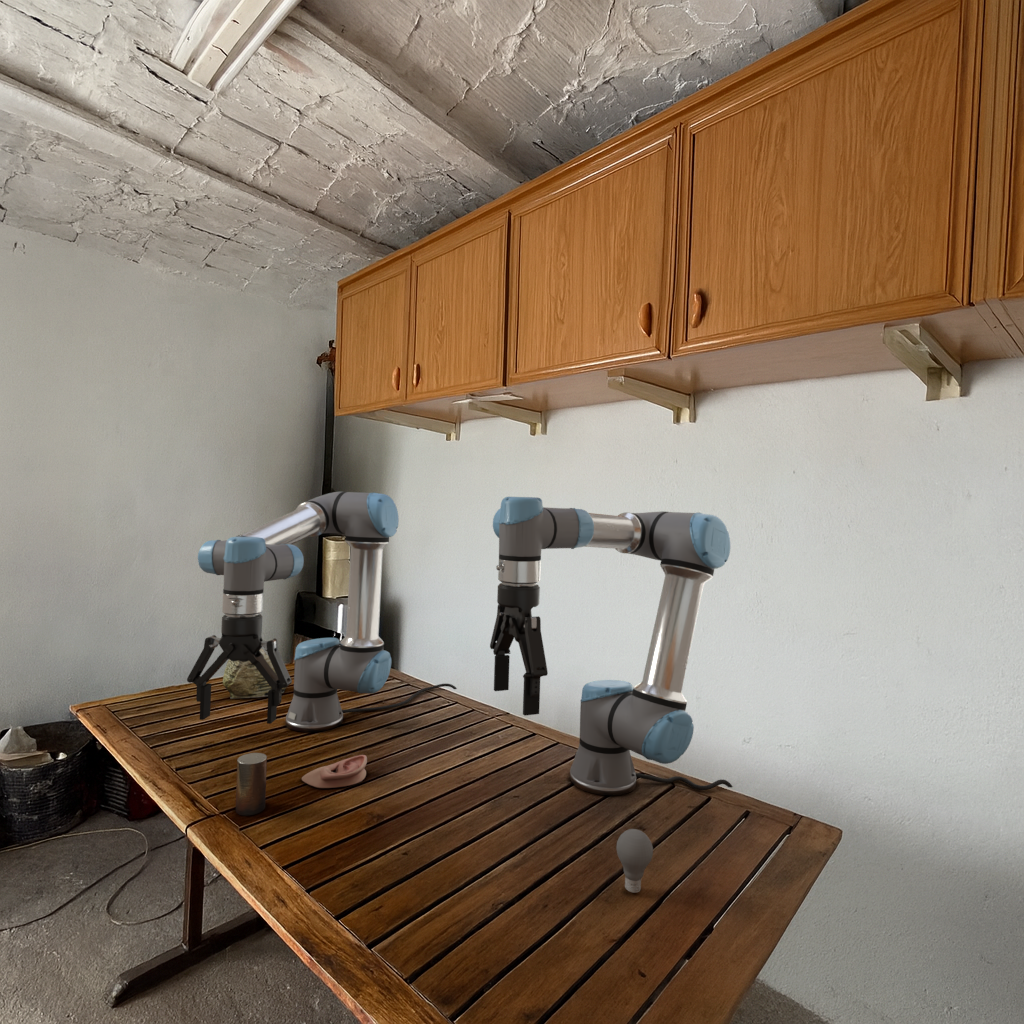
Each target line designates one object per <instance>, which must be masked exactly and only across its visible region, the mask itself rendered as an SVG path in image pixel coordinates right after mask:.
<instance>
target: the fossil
mask: <svg viewBox="0 0 1024 1024" xmlns="http://www.w3.org/2000/svg"><path fill="white" fill-rule="evenodd" d="M259 651H260V652H261V653H262V654H263V656H264V659H265V660H266V662H267V663H268V664H269V666H270V667H271V668H272V670H273V671H274V672H275V670H274V668H273V665H272V663H271V661H270V659H269V656H268V653H267V652H265V649H263V648H261V649H260V650H259ZM226 662H227V663H226V666H225V668H224V671H223V675H222V676H223V677H222V685H223V687H224V688H225V690H226V691H228V693H229V698H230V699H250V698H264V697H268V691H269V690H270V689H272V688H271V686H270V685H269V684H268V682H267V681H266V680H265V678H264V677H263V676H262V675H261V673H260V672H259V671H258V669H257V668H256V667H255V665H253V664H252V663H251V662H250V661H247V662H242V661H239V660H238V661H231V660H230V659H228V660H227V661H226ZM275 673H276V672H275ZM276 675H277V674H276ZM286 689H287V687H286V688H282V694H284V693H285V691H286Z"/></svg>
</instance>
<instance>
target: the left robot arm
mask: <svg viewBox="0 0 1024 1024" xmlns="http://www.w3.org/2000/svg"><path fill="white" fill-rule="evenodd" d="M398 527H399V511H398V508H397V505H396V503H395V501H394V499H393V498H392V497H391V496H390V495H388V494H386V493H380V492H379V493H377V492H375V491H373V492H363V491H362V492H358V491H357V492H356V491H333V492H329V493H325V494H322V495H320V496H319V495H318V496H316V497H313V498H311V499H309V500H306V501H304V502H301V503H300V504H298V505H297V506H296V508H295V510H292V511H290V512H288V513H287V514H284V515H281V516H280V517H277V518H274V519H272V520H270V521H267V522H265V523H263V524H261V525H259V526H256V527H254V528H251V529H250V530H247V531H244V532H242V533H240V534H238V535H236V536H231V537H229V538H227V539H226V540H221V539H215V540H214V539H213V540H212V539H211V540H207V541H205V542H204V543H203V544H202V545H201V546H200V548H199V550H198V553H197V563H198V565H199V568H200V569H201V571H203V572H204V573H206V574H212V575H215V576H223V589H222V608H221V609H222V610H221V612H222V613H223V614H224V615H222V616H221V628H220V629H221V637H217V635H215V634H212V635H210V636H208V637H206V638H205V639H204V644H203V649H202V651H201V653H200V654H199V656H198V658H197V660H196V661H195V663H194V665H193V667H192V669H191V671H190V672H189V674H188V676H187V677H186V681H187V683H189V684H190V683H192V684H194V685H195V686H196V696H195V700H196V702H197V703H199V720H200V721H204V720H206V719H208V717H210V716H211V704H212V683H210V680H211V678H212V677H213V676H214V675H216V673H217V672H218V671H219V670H220V669H221V668H222V667H223V665H224V664H225V663H226V662H228V660H229V659H230V660H231V661H238V660H239V661H242V662H247V661H250V662H251V663H252V664H253V665H255V667H256V668H257V669H258V671H259V672H260V673H261V675H262V676H263V677H264V678H265V680H266V681H267V682H268V684H269V685H270V686H271V688H272V689H270V690H269V691H268V696H267V713H266V724H270V725H271V724H272V723H273V722H275V721H276V720H277V710H278V709H277V708H278V706H279V705H281V703H282V697H283V696H282V695H283V693H282V688H286V689H287V687H289V686H291V684H292V683H293V695H292V696H293V697H292V699H291V702H290V704H289V708H288V711H287V713H286V715H285V726H286V728H287V729H289V730H291V731H294V732H295V731H296V732H301V733H316V732H325V731H329V730H332V729H335V728H337V727H339V726H340V725H342V723H343V722H344V714H346V713H347V714H348V713H361V712H375V711H381V710H382V711H383V710H387V709H393V708H398V707H400V706H401V707H402V706H403V705H406V704H408V703H409V702H410V701H412V700H413V699H414V698H415V697H417V696H419V695H420V694H422V693H424V692H427V691H430V690H435V689H439V688H442V687H448V688H452V689H453V690H457V689H458V688H457V687H456V686H455V685H453V684H451V683H439V684H436V685H432V686H433V687H432V686H428V687H424V688H422V689H421V688H420V689H419V690H418V691H417V692H415V693H413V694H412V695H411V696H410V697H408V698H407V699H405V700H402V701H400V702H397V703H393V704H388V705H383V706H375V707H364V708H362V707H361V708H349V709H346V708H345V709H342V706H341V702H340V699H339V695H338V690H339V691H347V692H354V693H357V694H361V695H362V694H369V695H370V694H371V695H372V694H376V693H378V692H379V691H380V690H381V689H382V688H383V687H384V686H385V684H386V682H387V680H388V678H389V676H390V672H391V668H392V657H391V653H390V652H389V651H387V649H386V650H384V649H385V647H384V645H385V642H384V641H383V639H382V638H381V637H380V636H379V635H380V634H379V633H380V617H381V616H380V614H381V596H382V595H381V594H382V575H383V558H384V557H383V555H384V554H383V553H384V548H386V546H388V545H389V544H390V538H392V537H394V536H395V534H396V533H397V529H398ZM322 534H339V535H340V534H341V535H345V537H344V538H345V539H344V542H345V544H347V545H348V546H349V548H350V555H349V573H348V592H347V593H348V595H347V611H346V612H347V613H346V631H345V633H346V635H345V636H344V637H343V638H342V639H341V640H340V639H339V638H337V637H320V638H319V637H318V638H313V639H307V640H304V641H302V642H299V643H298V644H297V645H296V647H295V652H294V653H295V654H294V659H293V660H294V672H293V680H292V677H291V676H290V673H289V672H288V671H289V670H288V668H287V666H286V664H285V662H284V659H283V657H282V655H281V653H280V650H279V646H278V645H279V643H278V639H277V638H272V639H266V640H263V637H262V633H263V615H262V614H261V613H263V612H264V589H265V588H264V587H265V582H270V581H278V580H288V579H290V578H293V577H296V576H298V575H299V574H300V573H301V571H302V570H303V567H304V562H305V561H304V559H305V558H304V554H303V552H302V550H300V548H299V547H298V546H297V545H294V544H296V543H298V542H300V541H302V540H304V539H306V538H308V537H310V538H311V537H318V536H320V535H322ZM218 647H220V648H221V650H222V652H221V653H220V655H219V656H218V657H217V658H216V660H215V661H213V663H212V664H211V665H210V666H208V668H207V669H206V670H205V671H204V669H205V668H206V666H207V664H208V662H209V660H210V658H211V657H212V655H213V653H214V651H215V649H217V648H218ZM263 648H264V651H266V654H267V655H268V656H269V659H270V661H271V663H272V665H273V668H274V670H275V672H276V673H275V672H274V671H273V670H272V668H271V667H270V666H269V664H268V663H267V662H266V660H265V659H264V656H263V654H262V653H261V652H260V651H259V650H260V649H263ZM203 672H204V673H203ZM276 674H277V675H276ZM208 682H209V683H208Z"/></svg>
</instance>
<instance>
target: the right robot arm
mask: <svg viewBox="0 0 1024 1024" xmlns="http://www.w3.org/2000/svg"><path fill="white" fill-rule="evenodd" d="M492 529H493V532H494V534H495V536H496V537H497V538H498V564H497V565H496V567H495V568H496V569H495V570H497V571H498V572H497V573H498V574H497V579H498V581H499V582H500V583H499V584H498V585H497V598H496V601H497V610H496V618H495V622H494V627H493V630H492V635H491V639H490V643H489V648H490V650H492V651H493V655H494V668H493V675H494V676H493V691H494V692H501V691H502V692H503V691H509V687H510V654H511V650H510V647H511V646H512V643H513V641H514V640H515V642H517V643H518V646H519V650H520V654H521V659H522V662H523V666H524V670H525V672H524V674H523V675H522V679H523V693H522V694H523V697H522V715H523V716H524V717H527V716H533V715H535V716H536V715H540V703H541V702H540V700H541V677H546V676H548V672H549V671H548V666H547V660H546V654H545V647H544V642H543V637H542V631H541V630H542V629H541V628H542V625H541V624H542V623H541V617H540V616H533V614H532V609H533V608H537V607H538V606H539V605H540V600H541V599H540V595H541V594H540V593H541V588H540V586H539V584H538V583H540V582H541V572H542V550H548V549H549V550H550V549H551V550H553V549H570V550H575V549H577V548H578V549H579V548H596V549H597V548H599V549H600V548H601V549H613V550H614V549H615V550H616V551H617V552H619V553H621V554H626V555H627V554H628V555H633V556H634V555H635V556H639V557H643V558H648V559H651V560H655V561H660V563H659V568H660V569H661V571H662V572H663V574H664V578H663V583H662V587H661V592H660V596H659V600H658V606H657V611H656V615H655V620H654V624H653V630H652V634H651V638H650V643H649V647H648V652H647V656H646V660H645V665H644V670H643V675H642V679H641V681H640V682H639V683H637V684H635V686H633V684H632V683H631V682H629V681H625V680H619V679H618V680H617V679H599V680H592V681H589V682H587V683H585V684H584V685H583V686H582V689H581V698H580V708H579V709H580V710H579V711H580V712H579V743H578V748H577V750H576V752H575V754H574V758H573V762H572V764H571V767H570V769H569V780H570V782H571V783H572V784H573V785H574V786H575V787H576V788H578V789H580V790H581V791H584V792H587V793H590V794H595V795H600V796H622V795H625V794H629V793H630V792H632V791H634V790H635V789H636V787H637V779H641V780H642V779H643V780H648V781H653V782H657V783H660V784H661V783H662V784H671V783H673V782H682V783H684V784H686V785H688V786H689V787H691V788H692V789H695V790H698V791H710V790H712V789H714V788H717V787H719V786H720V785H725V786H726V787H727V788H733V787H734V786H733V785H732V783H730V782H729V780H726V779H717V780H715V781H712V782H711V783H709V784H706V785H700V784H696V783H695V782H693V781H692V780H690V779H688V778H687V777H684V776H679V775H675V776H672V777H668V778H663V777H659V776H654V775H650V774H645V773H639V772H636V769H635V766H634V762H633V758H632V754H631V752H632V753H633V752H634V753H635V754H638V755H640V756H642V757H643V758H645V759H646V760H648V761H653V762H656V763H659V764H662V765H663V764H664V765H667V764H671V763H674V762H676V761H677V760H680V758H681V757H682V756H683V755H684V754H685V752H686V751H687V750H688V748H689V746H690V744H691V742H692V739H693V736H694V728H695V726H694V723H693V718H692V716H691V715H690V714H689V713H688V712H687V711H686V709H687V705H688V700H687V698H686V697H685V696H684V694H683V687H684V683H685V678H686V673H687V668H688V663H689V658H690V654H691V649H692V645H693V640H694V634H695V629H696V625H697V621H698V620H697V619H698V615H699V611H700V605H701V600H702V595H703V590H704V586H705V584H706V583H707V582H709V581H710V580H712V579H714V575H715V570H716V569H720V568H722V567H723V566H725V564H726V563H727V561H728V560H729V557H730V554H731V538H730V533H729V531H728V529H727V525H726V524H725V523H724V521H723V520H722V519H721V518H719V516H717V515H714V514H708V513H702V512H679V511H677V512H676V511H665V510H664V511H662V510H661V511H647V512H646V511H645V512H622V513H618V515H614V514H602V513H593V512H588V511H587V510H585V509H582V508H575V507H568V508H565V507H563V508H562V507H544V505H543V500H542V498H540V497H535V496H534V497H532V496H505V497H504V498H502V499H501V502H500V508H499V509H498V510H496V512H495V513H494V515H493V518H492Z"/></svg>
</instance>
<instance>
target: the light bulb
mask: <svg viewBox="0 0 1024 1024" xmlns="http://www.w3.org/2000/svg"><path fill="white" fill-rule="evenodd" d="M615 849H616V854H617V857H618V859H619V861H620V863H621V865H622V867H623V873H624V874H623V875H624V876H625V878H624V888H625V890H627V891H628V892H630V893H634V894H635V893H639V892H640V891H641V889H642V887H641V886H642V879H643V877H644V875H645V871H646V868H647V867H648V866H649V864H650V863H651V861H652V859H653V855H654V847H653V843H652V841H651V838H649V836H648V835H647V834H646V833H645V832H643V831H642V830H641V829H636V828H629V829H627V830H625V831H623V832H622V833H621V834H620V835H619V837H618V839H617V841H616V847H615Z"/></svg>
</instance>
